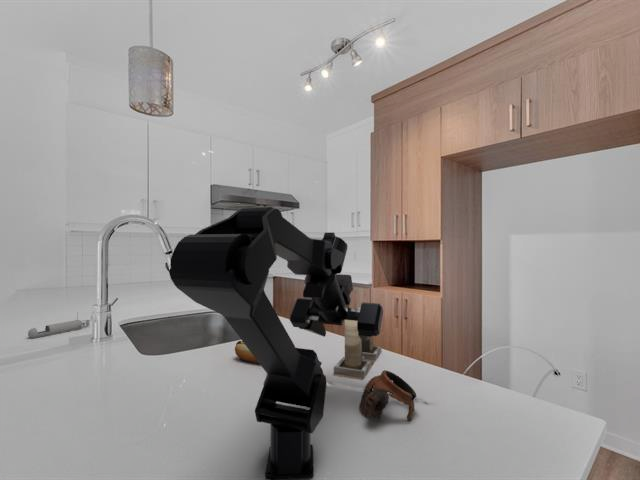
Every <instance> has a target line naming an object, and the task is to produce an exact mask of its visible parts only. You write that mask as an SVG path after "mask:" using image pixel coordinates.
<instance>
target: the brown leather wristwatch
mask: <svg viewBox="0 0 640 480" xmlns="http://www.w3.org/2000/svg"><path fill="white" fill-rule="evenodd" d="M390 395H391V398H392V399H395V400H397V401H398V402H401V403H403V404H404V405H405V406H408V413H407V415H406V418H407V420H408V421H410V420H411V419H412V417H413V414H414V412H415V399H416V398H417V393H416V391H415V390H414V388H413V387H412V386H411V385H410V384H409V383H407V381H405V380H404V379H403V378H401V377H400V376H399V375H397V374H396V373H393V372H391V371H389V370H387V369H386V370H385V369H384V370H382V371H381V374H380V375H376V376H374V377H372V378H370V380H368V382H367V383H366V385H365V387H364V389H363V392H362V395H361V399H360V402H359V410H360V413H361V414H362V416H363V417H364V418H367V417H368V415H369V416H370V417H371V418H372V419H374V420H375V419H376V420H380V419H381V416H382V414H383V411H384V409H385V408H386V406H387V405H388V403H389V399H390Z"/></svg>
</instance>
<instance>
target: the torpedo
mask: <svg viewBox="0 0 640 480" xmlns="http://www.w3.org/2000/svg"><path fill="white" fill-rule="evenodd" d="M78 315H79V311H77V315H76V317H77V318H76V319H75V320H71V321H70V320H69V321H65V322H60V323H59V322H58V323H53V324H47V325H45V328H44V330H42V331H38V329H37V328H36V327H32V328H30V329H29V330H28V332H27V336H28V337H29V338H31V339H37V338H41V337H42V338H43V337H47V336H52V334H53V335H57V333H58V334H62V333H61V332H63V333H67V332H66V331H68V332H72V330H73V331H76V330H77V331H78V330H80V329H81V328H85V327H88V326H90V323H91V322H90V319H85V320H79V316H78Z"/></svg>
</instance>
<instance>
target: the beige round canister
mask: <svg viewBox="0 0 640 480" xmlns="http://www.w3.org/2000/svg"><path fill="white" fill-rule="evenodd" d="M358 333H359V332H358V330H357V321H354V320H344V357H345V368H352V369H358V370H361V365H362V340H361V338H360V337H359V335H358Z"/></svg>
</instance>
